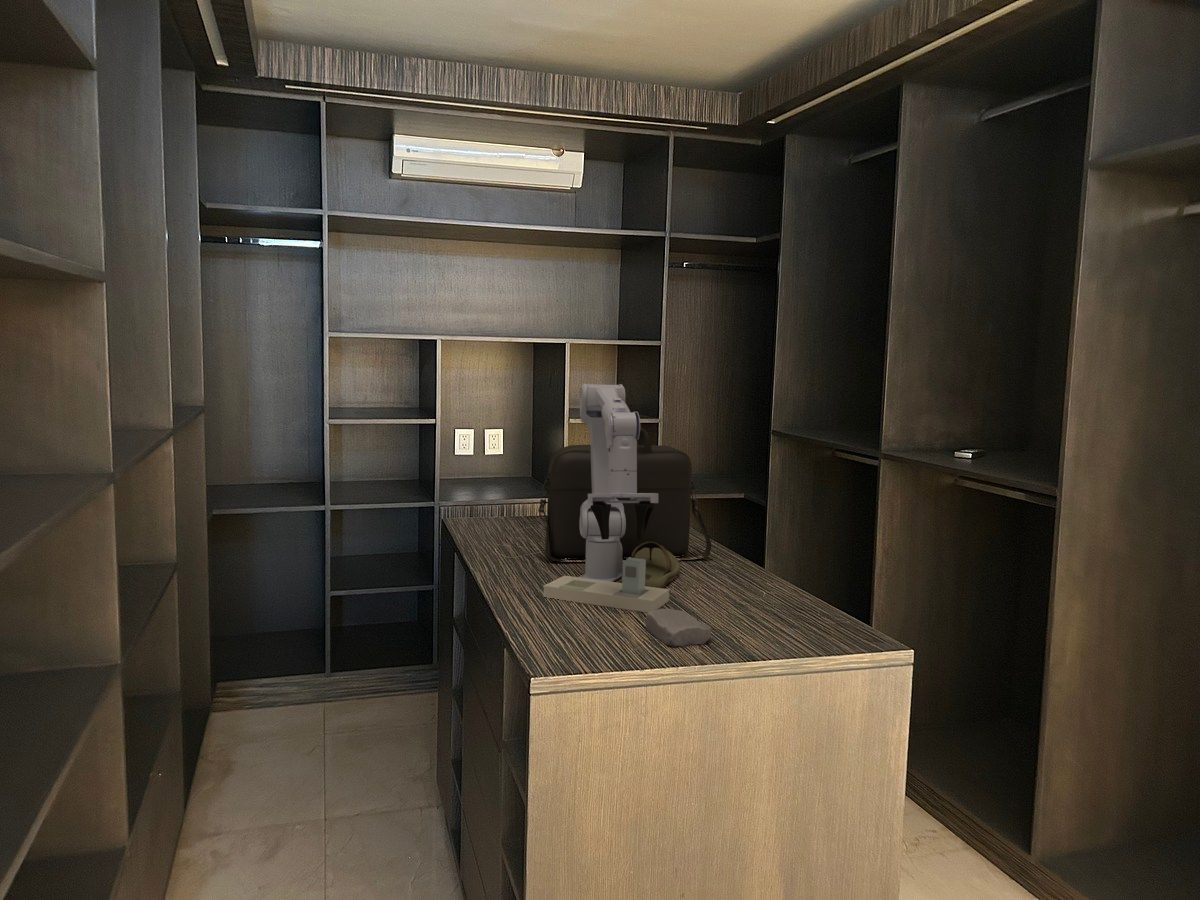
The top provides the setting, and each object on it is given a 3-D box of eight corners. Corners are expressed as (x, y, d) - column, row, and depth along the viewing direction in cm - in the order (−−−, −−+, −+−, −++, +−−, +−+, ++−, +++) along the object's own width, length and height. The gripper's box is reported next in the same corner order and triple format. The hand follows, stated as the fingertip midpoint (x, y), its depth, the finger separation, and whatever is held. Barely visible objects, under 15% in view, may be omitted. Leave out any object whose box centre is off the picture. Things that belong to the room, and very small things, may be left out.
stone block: (686, 634, 177) (639, 628, 174) (692, 610, 177) (645, 604, 173) (715, 656, 166) (665, 650, 163) (721, 630, 166) (672, 624, 162)
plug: (628, 600, 193) (629, 557, 192) (644, 602, 192) (645, 559, 191) (620, 604, 190) (621, 561, 189) (637, 607, 188) (638, 563, 187)
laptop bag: (696, 550, 244) (701, 424, 241) (712, 561, 232) (717, 428, 228) (534, 553, 236) (536, 422, 232) (540, 564, 223) (543, 427, 220)
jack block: (564, 586, 203) (564, 574, 202) (668, 601, 193) (669, 588, 193) (543, 597, 193) (543, 584, 193) (652, 613, 184) (652, 599, 184)
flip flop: (636, 564, 227) (638, 530, 226) (685, 568, 224) (686, 534, 223) (608, 593, 199) (609, 555, 198) (662, 599, 196) (664, 559, 195)
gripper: (581, 471, 186) (581, 539, 186) (649, 470, 181) (649, 540, 180) (595, 472, 193) (595, 538, 192) (661, 471, 187) (662, 539, 186)
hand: (622, 539), depth 186 cm, fingers open, 7 cm apart
